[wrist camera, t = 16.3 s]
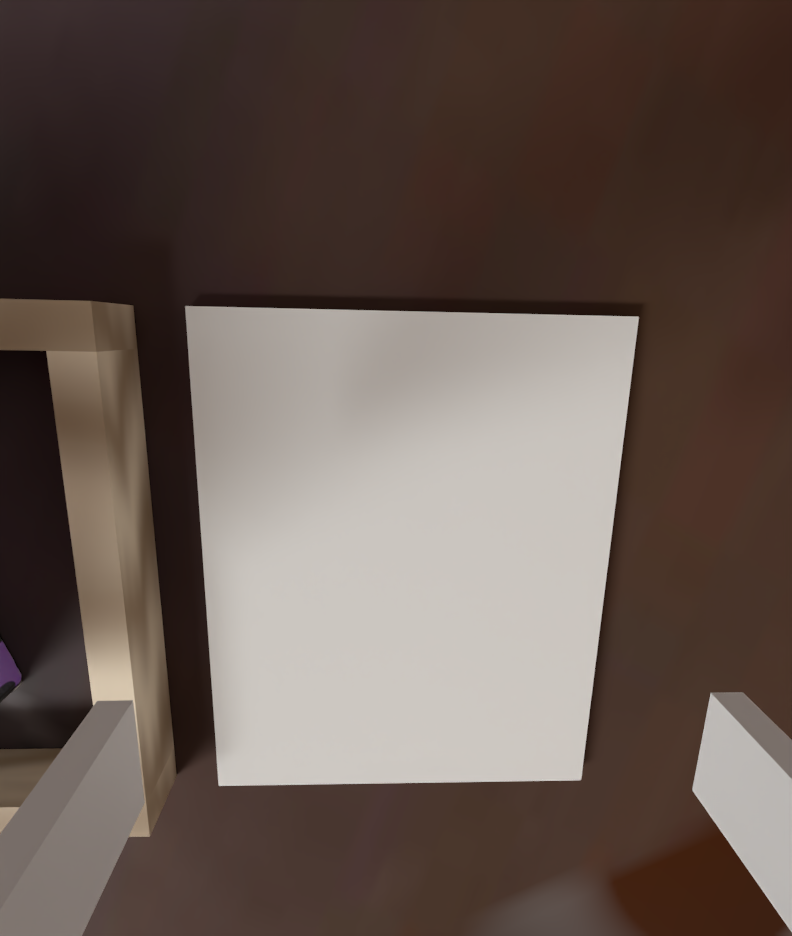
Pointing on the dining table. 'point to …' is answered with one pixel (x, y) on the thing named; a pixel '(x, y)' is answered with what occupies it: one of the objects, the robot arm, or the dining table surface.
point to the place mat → (405, 538)
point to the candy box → (8, 673)
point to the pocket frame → (102, 529)
